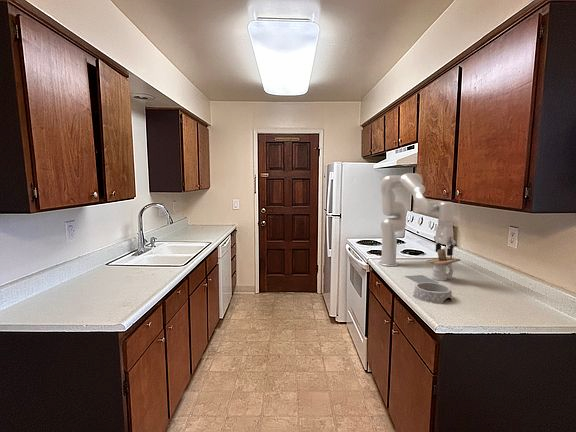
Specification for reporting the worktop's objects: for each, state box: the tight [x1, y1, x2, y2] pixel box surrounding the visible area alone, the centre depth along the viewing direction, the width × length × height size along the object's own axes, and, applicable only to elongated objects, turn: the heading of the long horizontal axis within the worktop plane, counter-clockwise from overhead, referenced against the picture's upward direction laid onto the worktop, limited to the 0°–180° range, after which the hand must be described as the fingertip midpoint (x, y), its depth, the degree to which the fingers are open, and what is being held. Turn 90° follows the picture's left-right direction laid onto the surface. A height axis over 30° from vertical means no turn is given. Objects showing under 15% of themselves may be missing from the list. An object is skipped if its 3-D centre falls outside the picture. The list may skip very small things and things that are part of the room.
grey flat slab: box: [404, 274, 440, 284], centre depth 195 cm, size 16×12×1 cm
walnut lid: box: [425, 248, 461, 265], centre depth 195 cm, size 14×12×7 cm
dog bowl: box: [412, 282, 454, 304], centre depth 169 cm, size 17×18×5 cm
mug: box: [431, 263, 454, 282], centre depth 196 cm, size 8×12×12 cm, turn 94°
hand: (443, 253), depth 195 cm, fingers open, 9 cm apart
